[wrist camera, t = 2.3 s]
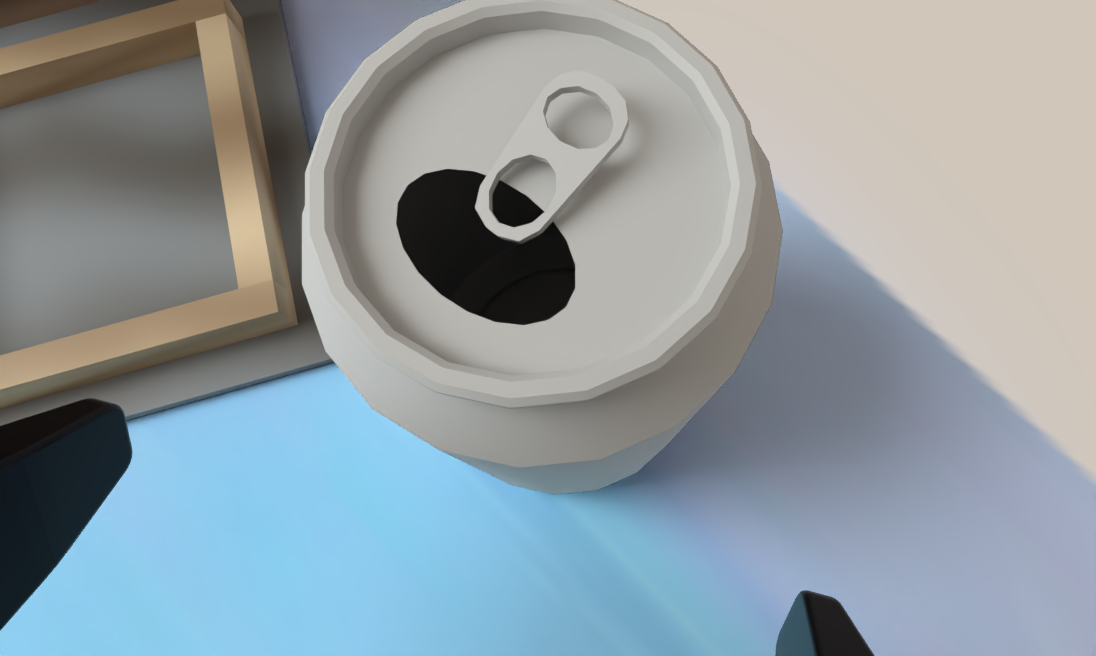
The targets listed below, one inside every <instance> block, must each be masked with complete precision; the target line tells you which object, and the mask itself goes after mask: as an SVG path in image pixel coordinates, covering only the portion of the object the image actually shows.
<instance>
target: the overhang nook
mask: <svg viewBox="0 0 1096 656" xmlns="http://www.w3.org/2000/svg"><path fill="white" fill-rule="evenodd" d="M310 157H311V149H310V144H309V140H308V135H307V130H306V125H305V120H304V115H303V110H302V105H301V100H300V95H299V90H298V85H297V81H296V76H295V71H294V66H293V61H292V56H291V51H290V46H289V41H288V36H287V31H286V26H285V22H284V17H283V12H282V7H281V2H280V0H0V426H1V425H4V424H7V423H11V422H14V421H17V420H20V419H23V418H26V417H29V416H33V415H36V414H39V413H42V412H45V411H48V410H51V409H54V408H58V407H61V406H64V405H67V404H70V403H73V402H76V401H80V400H83V399H87V398H95V399H99V400H103V401H106V402H110V403H114V404H117V405H119V406H120V407H121V408H122V409H123V411H124V414H125V418H126V421H127V420H130V419H134V418H138V417H141V416H145V415H148V414H152V413H155V412H159V411H162V410H166V409H170V408H173V407H177V406H180V405H184V404H187V403H191V402H194V401H198V400H202V399H205V398H209V397H212V396H216V395H219V394H223V393H226V392H230V391H234V390H237V389H241V388H244V387H248V386H251V385H255V384H258V383H262V382H266V381H269V380H273V379H276V378H280V377H283V376H287V375H290V374H294V373H297V372H301V371H305V370H308V369H312V368H315V367H319V366H322V365H326V364H329V363H333V362H334V361H333V360H332V359H331V357H330V356H329V355H328V354H327V352H326V351H325V348H324V346H323V343H322V340H321V337H320V334H319V331H318V328H317V326H316V323H315V320H314V317H313V314H312V311H311V308H310V306H309V303H308V300H307V297H306V294H305V291H304V289H303V286H302V213H303V210H304V207H305V171H306V168H307V166H308V163H309V160H310Z"/></svg>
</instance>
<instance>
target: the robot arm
mask: <svg viewBox="0 0 1096 656" xmlns="http://www.w3.org/2000/svg"><path fill="white" fill-rule="evenodd" d="M131 458H132V446H131V441H130V437H129V432H128V427H127V423H126V418H125V414H124V411H123V409H122V408H121V407H120V406H119V405H117V404H114V403H110V402H106V401H103V400H99V399H95V398H87V399H83V400H80V401H76V402H73V403H70V404H67V405H64V406H61V407H58V408H54V409H51V410H48V411H45V412H42V413H39V414H36V415H33V416H29V417H26V418H23V419H20V420H17V421H14V422H11V423H7V424H4V425H1V426H0V631H1V629H2V628H3V627H4V626H5V625H6V624H7V623H8V621H9V620H10V619H11V618H12V617H13V616H14V614H15V613H16V612H17V611H18V610H19V609H20V608H21V606H22V605H23V604H24V603H25V602H26V601H27V600H28V598H29V597H30V596H31V595H32V594H33V593H34V592H35V590H36V589H37V588H38V587H39V586H40V585H41V584H42V582H43V581H44V580H45V579H46V578H47V577H48V575H49V574H50V573H51V572H52V571H53V569H54V568H55V567H56V566H57V565H58V563H59V562H60V561H61V559H62V558H63V557H64V555H65V554H66V553H67V551H68V550H69V549H70V547H71V546H72V545H73V543H74V542H75V541H76V539H77V538H78V536H79V535H80V534H81V532H82V531H83V530H84V528H85V527H86V525H87V524H88V523H89V521H90V520H91V518H92V517H93V516H94V514H95V513H96V512H97V510H98V509H99V507H100V506H101V505H102V503H103V502H104V500H105V499H106V498H107V496H108V495H109V494H110V492H111V491H112V489H113V488H114V487H115V485H116V484H117V482H118V481H119V480H120V478H121V477H122V476H123V474H124V473H125V471H126V470H127V468H128V466H129V464H130V462H131ZM775 656H874V654H873V653H872V651H871V650H870V648H869V647H868V645H867V644H866V642H865V640H864V639H863V637H862V636H861V634H860V633H859V631H858V630H857V628H856V626H855V625H854V623H853V622H852V620H851V619H850V617H849V616H848V614H847V612H846V611H845V609H844V608H843V606H842V605H841V604H840V602H838V601H837V600H836V599H835V598H833V597H830V596H826V595H822V594H818V593H815V592H811V591H801V592H800V593H799V594H798V595H797V597H796V599H795V601H794V603H793V605H792V607H791V610H790V612H789V614H788V616H787V618H786V620H785V622H784V624H783V626H782V628H781V631H780V633H779V636H778V640H777V645H776V655H775Z"/></svg>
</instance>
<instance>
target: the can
mask: <svg viewBox="0 0 1096 656" xmlns="http://www.w3.org/2000/svg"><path fill="white" fill-rule="evenodd" d="M782 233H783V231H782V225H781V220H780V215H779V210H778V205H777V200H776V195H775V190H774V185H773V180H772V175H771V170H770V164H769V161H768V160H767V158H766V156H765V154H764V153H763V151H762V149H761V147H760V146H759V144H758V142H757V141H756V139H755V137H754V136H753V134H752V131H751V125H750V121H749V120H748V118H747V116H746V115H745V113H744V111H743V110H742V108H741V106H740V104H739V103H738V101H737V99H736V98H735V96H734V94H733V92H732V91H731V89H730V87H729V86H728V84H727V82H726V81H725V79H724V77H723V75H722V74H721V72H720V70H719V69H718V67H717V66H716V65H715V64H714V63H713V62H712V61H711V60H710V59H708V58H707V57H706V56H705V55H704V54H703V53H702V52H700V51H699V50H698V49H697V48H696V47H695V46H694V45H692V44H691V43H690V42H689V41H688V40H687V39H685V38H684V37H683V36H682V35H681V34H680V33H679V32H678V31H676V30H675V29H674V28H673V27H672V26H671V25H670V24H668V23H666V22H664V21H662V20H660V19H657V18H655V17H653V16H651V15H648V14H646V13H644V12H642V11H639V10H637V9H635V8H633V7H630V6H628V5H626V4H624V3H622V2H619V1H617V0H464V1H462V2H459V3H457V4H455V5H452V6H450V7H447V8H445V9H442V10H440V11H437V12H435V13H432V14H430V15H427V16H425V17H422V18H420V19H417V20H416V21H414V22H413V23H412V24H410V25H409V26H408V27H406V28H405V29H404V30H402V31H401V32H400V33H399V34H397V35H396V36H395V37H393V38H392V39H391V40H389V41H388V42H387V43H385V44H384V45H383V46H382V47H380V48H379V49H378V50H376V51H375V52H374V53H372V54H371V55H370V56H368V57H367V58H366V59H365V60H364V61H363V62H362V63H361V65H360V66H359V68H358V69H357V70H356V72H355V73H354V74H353V76H352V77H351V78H350V80H349V81H348V82H347V84H346V85H345V87H344V88H343V89H342V91H341V92H340V93H339V95H338V96H337V97H336V99H335V100H334V101H333V103H332V104H331V106H330V107H329V108H328V110H327V111H326V113H325V116H324V119H323V122H322V125H321V127H320V130H319V133H318V136H317V139H316V142H315V145H314V148H313V151H312V154H311V157H310V160H309V163H308V166H307V168H306V171H305V207H304V210H303V213H302V286H303V289H304V291H305V294H306V297H307V300H308V303H309V306H310V308H311V311H312V314H313V317H314V320H315V323H316V326H317V328H318V331H319V334H320V337H321V340H322V343H323V346H324V348H325V351H326V352H327V354H328V355H329V356H330V357H331V359H332V360H333V361H334V362H335V364H336V365H337V366H338V367H339V368H340V370H341V371H342V372H343V373H344V375H345V376H346V377H347V378H348V380H349V381H350V382H351V383H352V385H353V386H354V387H355V388H356V389H357V391H358V392H359V393H360V394H361V396H362V397H363V398H364V399H365V401H366V402H367V403H368V404H369V406H370V407H371V408H372V409H373V410H375V411H376V412H378V413H380V414H381V415H383V416H385V417H386V418H388V419H389V420H391V421H393V422H394V423H396V424H398V425H399V426H401V427H402V428H404V429H406V430H407V431H409V432H411V433H412V434H414V435H415V436H417V437H419V438H420V439H422V440H424V441H425V442H427V443H429V444H430V445H432V446H433V447H435V448H437V449H438V450H440V451H442V452H444V453H446V454H448V455H451V456H453V457H455V458H457V459H459V460H461V461H463V462H465V463H467V464H469V465H471V466H473V467H475V468H477V469H479V470H481V471H483V472H486V473H488V474H490V475H492V476H494V477H496V478H498V479H500V480H502V481H504V482H506V483H508V484H510V485H514V486H518V487H522V488H527V489H531V490H535V491H540V492H544V493H548V494H553V495H555V494H565V493H575V492H586V491H596V490H599V489H601V488H603V487H606V486H608V485H610V484H612V483H615V482H617V481H619V480H621V479H624V478H626V477H628V476H630V475H633V474H635V473H637V472H638V471H639V470H640V469H641V468H642V467H643V466H645V465H646V464H647V463H648V462H649V461H650V460H651V459H652V458H653V457H654V456H655V455H656V454H658V453H659V452H660V451H661V450H662V449H663V448H664V447H665V446H666V445H667V444H668V443H669V442H670V441H671V440H672V439H673V438H674V437H675V436H676V435H677V434H678V433H679V432H680V431H681V429H682V428H683V427H684V426H685V425H686V424H687V423H688V422H689V421H690V420H691V419H692V418H693V417H694V415H695V414H696V413H697V412H698V411H699V410H700V409H701V408H702V407H703V406H704V405H705V404H706V403H707V401H708V400H709V399H710V398H711V397H712V396H713V395H714V394H715V393H716V392H717V391H718V390H719V389H720V387H721V386H722V385H723V384H724V383H725V382H726V381H727V380H728V379H729V378H730V377H731V376H732V375H733V373H734V372H735V371H736V369H737V367H738V366H739V364H740V362H741V360H742V358H743V356H744V354H745V353H746V351H747V349H748V347H749V345H750V343H751V341H752V340H753V338H754V336H755V334H756V332H757V330H758V328H759V327H760V325H761V323H762V321H763V319H764V317H765V315H766V314H767V312H768V310H769V308H770V306H771V304H772V298H773V292H774V285H775V279H776V272H777V265H778V259H779V252H780V246H781V239H782Z"/></svg>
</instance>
